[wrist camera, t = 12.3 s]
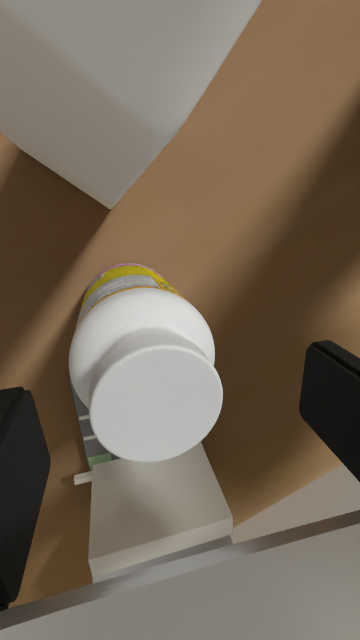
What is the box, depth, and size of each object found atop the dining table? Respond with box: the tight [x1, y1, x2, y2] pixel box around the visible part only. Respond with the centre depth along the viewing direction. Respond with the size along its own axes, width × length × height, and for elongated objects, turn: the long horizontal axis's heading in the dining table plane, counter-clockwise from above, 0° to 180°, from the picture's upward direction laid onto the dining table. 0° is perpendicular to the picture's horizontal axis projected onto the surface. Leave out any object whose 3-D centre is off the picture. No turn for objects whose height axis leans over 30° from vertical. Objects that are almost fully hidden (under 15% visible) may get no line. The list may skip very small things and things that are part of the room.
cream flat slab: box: [74, 441, 233, 577], centre depth 21 cm, size 2×10×7 cm, turn 94°
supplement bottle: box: [69, 263, 223, 463], centre depth 16 cm, size 7×7×13 cm
